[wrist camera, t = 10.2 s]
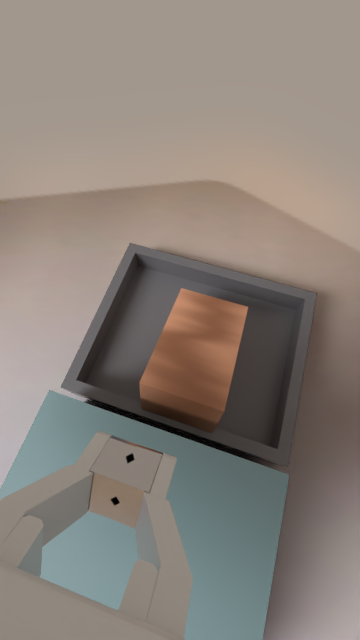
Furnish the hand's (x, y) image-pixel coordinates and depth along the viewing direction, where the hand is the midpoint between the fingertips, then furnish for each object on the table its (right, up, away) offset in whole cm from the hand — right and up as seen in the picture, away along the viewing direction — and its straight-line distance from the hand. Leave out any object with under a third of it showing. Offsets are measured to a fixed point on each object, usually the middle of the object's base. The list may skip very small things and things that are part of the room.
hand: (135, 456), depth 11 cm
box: (+3, +3, +14) cm, 14 cm away
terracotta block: (+2, -1, +7) cm, 8 cm away
